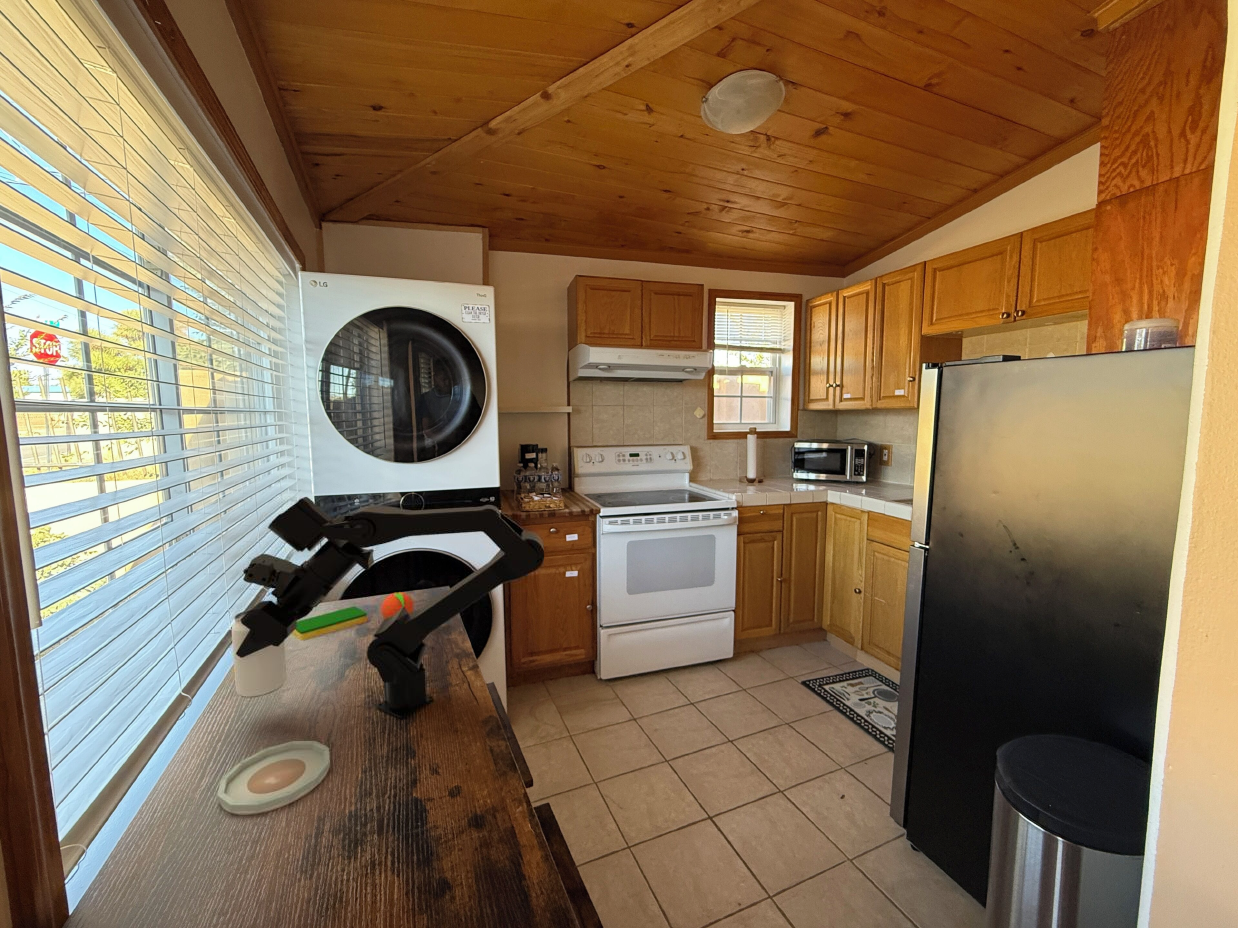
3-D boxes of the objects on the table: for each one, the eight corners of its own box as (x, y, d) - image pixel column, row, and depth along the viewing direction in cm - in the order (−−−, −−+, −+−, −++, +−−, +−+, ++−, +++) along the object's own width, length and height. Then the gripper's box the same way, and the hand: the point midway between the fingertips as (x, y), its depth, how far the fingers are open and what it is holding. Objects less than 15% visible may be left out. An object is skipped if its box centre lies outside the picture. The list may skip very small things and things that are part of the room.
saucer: (348, 766, 69) (348, 757, 69) (250, 829, 59) (250, 818, 59) (298, 739, 75) (297, 731, 75) (200, 792, 64) (200, 782, 64)
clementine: (420, 624, 117) (419, 594, 117) (388, 632, 113) (387, 601, 112) (408, 613, 123) (407, 585, 123) (377, 621, 119) (376, 591, 118)
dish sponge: (290, 633, 113) (289, 622, 113) (355, 615, 123) (354, 605, 123) (301, 642, 108) (300, 631, 108) (367, 622, 119) (367, 612, 118)
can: (291, 673, 83) (286, 603, 82) (281, 693, 77) (275, 617, 76) (244, 681, 81) (239, 608, 80) (229, 702, 75) (223, 624, 74)
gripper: (303, 524, 87) (234, 592, 86) (252, 553, 69) (164, 640, 67) (355, 566, 90) (290, 632, 88) (320, 603, 72) (236, 688, 70)
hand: (249, 645), depth 78 cm, fingers closed on can, 6 cm apart
